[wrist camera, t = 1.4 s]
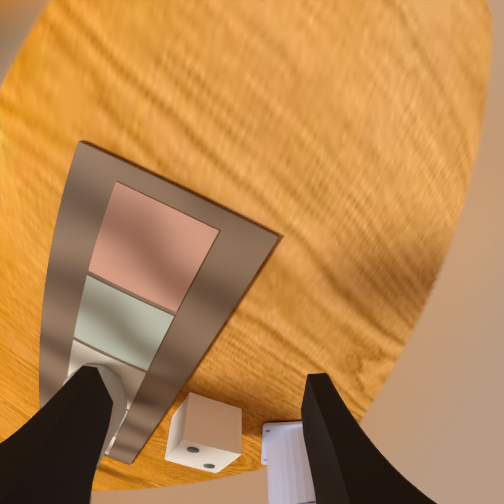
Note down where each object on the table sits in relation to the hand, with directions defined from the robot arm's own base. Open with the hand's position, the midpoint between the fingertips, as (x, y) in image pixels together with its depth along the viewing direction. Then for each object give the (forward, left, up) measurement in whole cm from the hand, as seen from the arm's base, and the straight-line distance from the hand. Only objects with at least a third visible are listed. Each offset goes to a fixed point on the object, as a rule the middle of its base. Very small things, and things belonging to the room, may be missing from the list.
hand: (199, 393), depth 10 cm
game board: (-12, +11, -10) cm, 19 cm away
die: (-17, +2, -10) cm, 20 cm away
